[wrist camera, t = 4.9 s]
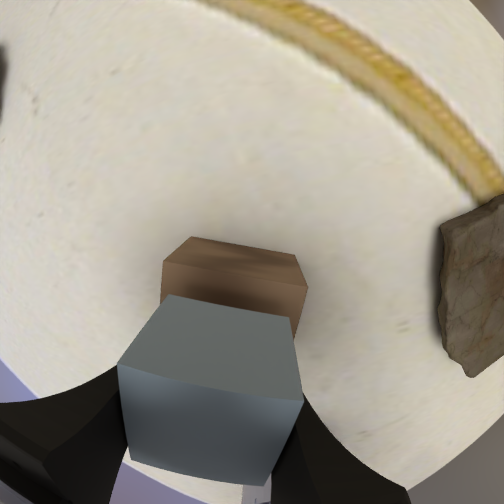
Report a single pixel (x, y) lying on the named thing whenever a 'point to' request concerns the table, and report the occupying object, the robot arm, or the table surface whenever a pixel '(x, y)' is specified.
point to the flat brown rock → (473, 287)
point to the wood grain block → (236, 278)
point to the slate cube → (210, 391)
